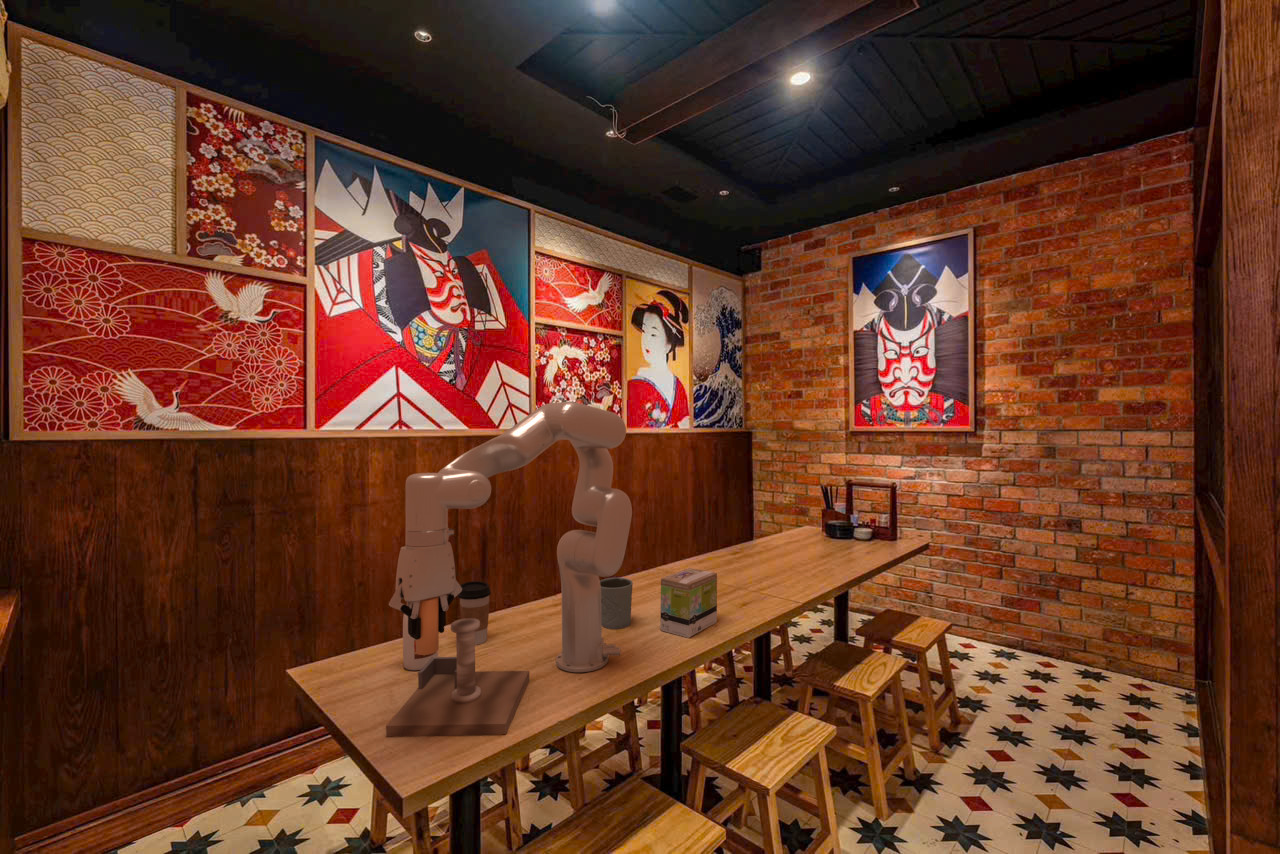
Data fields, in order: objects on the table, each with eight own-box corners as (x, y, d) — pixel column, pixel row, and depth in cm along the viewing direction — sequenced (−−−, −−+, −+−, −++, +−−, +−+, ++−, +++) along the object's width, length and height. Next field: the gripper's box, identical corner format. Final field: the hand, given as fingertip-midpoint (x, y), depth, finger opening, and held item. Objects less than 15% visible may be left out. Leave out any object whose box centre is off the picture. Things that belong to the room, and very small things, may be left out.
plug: (441, 646, 106) (441, 594, 106) (434, 654, 102) (434, 601, 102) (420, 646, 106) (420, 595, 106) (412, 655, 102) (412, 601, 102)
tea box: (690, 639, 145) (689, 583, 145) (659, 631, 151) (658, 577, 151) (718, 622, 157) (717, 571, 157) (688, 615, 163) (687, 566, 163)
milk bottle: (400, 673, 127) (399, 587, 127) (405, 659, 134) (404, 578, 134) (436, 668, 129) (435, 584, 129) (439, 655, 136) (437, 575, 136)
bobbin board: (529, 679, 123) (528, 604, 123) (505, 734, 101) (504, 642, 101) (431, 681, 123) (430, 605, 123) (386, 736, 101) (385, 644, 101)
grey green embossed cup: (635, 618, 161) (634, 577, 161) (631, 631, 151) (630, 587, 151) (601, 617, 162) (600, 577, 162) (595, 630, 152) (594, 587, 152)
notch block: (469, 672, 122) (469, 656, 122) (458, 688, 115) (458, 671, 115) (432, 672, 122) (431, 657, 122) (418, 689, 115) (418, 672, 115)
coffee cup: (479, 632, 152) (478, 578, 152) (498, 639, 146) (497, 583, 146) (452, 642, 145) (451, 585, 145) (470, 649, 140) (469, 591, 140)
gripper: (458, 529, 113) (458, 618, 113) (373, 541, 101) (373, 641, 101) (476, 534, 108) (477, 627, 107) (390, 547, 96) (390, 652, 95)
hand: (427, 633), depth 104 cm, fingers closed on plug, 4 cm apart
